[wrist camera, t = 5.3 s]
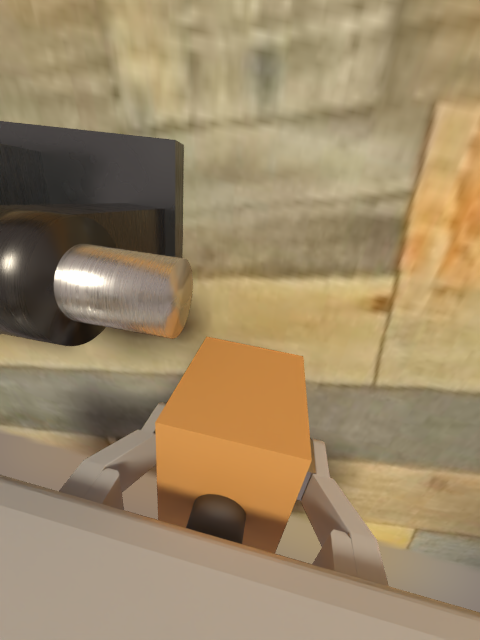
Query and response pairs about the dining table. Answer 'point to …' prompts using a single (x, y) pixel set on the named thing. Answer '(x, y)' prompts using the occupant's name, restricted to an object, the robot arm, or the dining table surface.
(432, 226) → the dining table surface
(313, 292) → the dining table surface
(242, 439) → the block
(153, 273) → the shaft stand
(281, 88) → the dining table surface
